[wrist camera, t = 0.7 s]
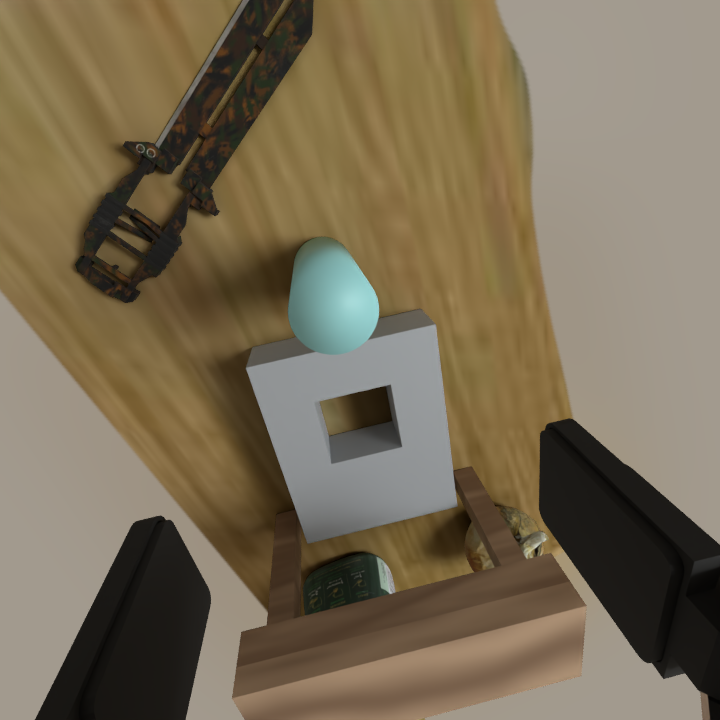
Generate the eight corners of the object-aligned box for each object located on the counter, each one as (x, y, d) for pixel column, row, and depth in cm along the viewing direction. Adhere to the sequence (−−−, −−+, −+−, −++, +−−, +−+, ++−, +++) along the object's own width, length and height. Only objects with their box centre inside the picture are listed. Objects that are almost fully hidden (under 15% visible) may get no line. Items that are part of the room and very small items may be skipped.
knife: (299, -76, 23) (299, -92, 21) (376, 28, 25) (380, 20, 24) (55, 247, 28) (43, 250, 26) (138, 309, 30) (131, 314, 29)
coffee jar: (322, 614, 46) (333, 863, 29) (294, 571, 43) (287, 825, 26) (400, 584, 46) (457, 819, 29) (378, 539, 42) (427, 774, 25)
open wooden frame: (263, 479, 37) (231, 698, 21) (468, 430, 38) (586, 605, 22) (283, 532, 40) (269, 759, 24) (473, 485, 41) (581, 675, 25)
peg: (287, 243, 29) (276, 278, 18) (345, 231, 29) (370, 257, 18) (302, 301, 31) (300, 363, 20) (357, 288, 31) (385, 343, 20)
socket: (252, 347, 32) (245, 367, 28) (420, 308, 32) (435, 324, 29) (307, 510, 39) (307, 543, 36) (443, 477, 40) (457, 506, 36)
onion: (445, 512, 42) (474, 580, 35) (515, 481, 41) (560, 544, 34) (466, 555, 45) (498, 626, 38) (532, 527, 45) (576, 593, 37)
